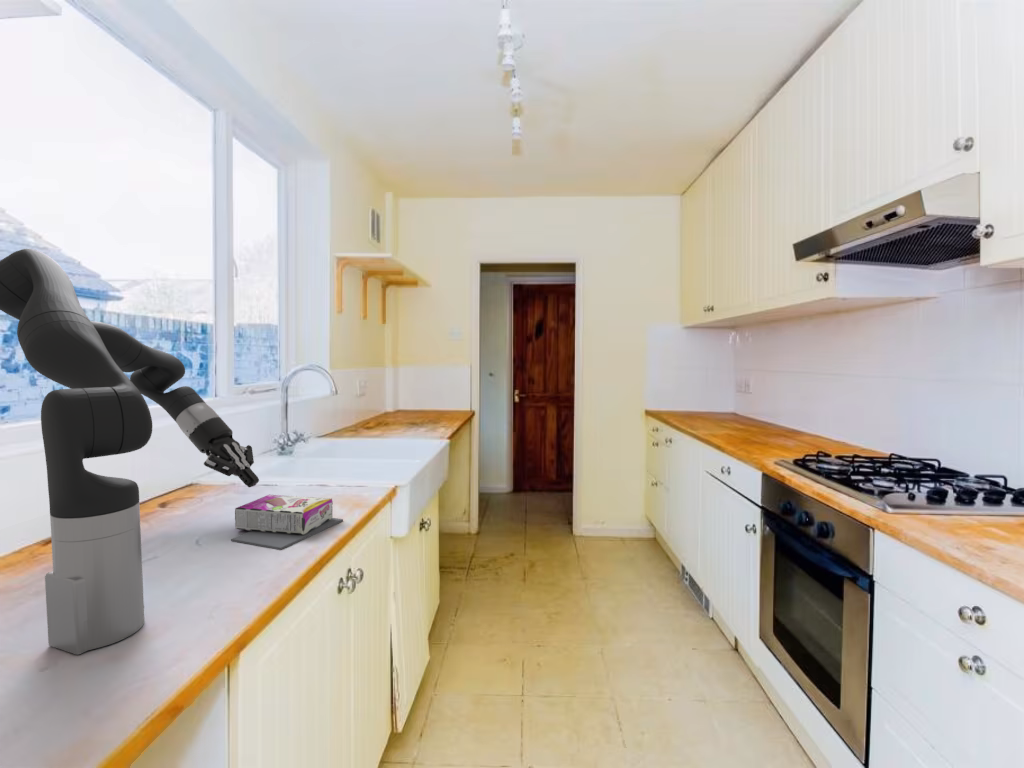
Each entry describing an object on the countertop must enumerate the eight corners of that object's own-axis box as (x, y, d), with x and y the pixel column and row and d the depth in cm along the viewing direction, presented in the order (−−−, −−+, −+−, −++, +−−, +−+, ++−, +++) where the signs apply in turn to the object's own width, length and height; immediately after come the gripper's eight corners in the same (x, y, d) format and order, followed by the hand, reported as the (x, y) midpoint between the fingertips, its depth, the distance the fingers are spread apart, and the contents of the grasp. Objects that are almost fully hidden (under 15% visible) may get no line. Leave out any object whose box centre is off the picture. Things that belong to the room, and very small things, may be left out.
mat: (280, 549, 98) (280, 547, 98) (231, 540, 102) (230, 538, 102) (343, 520, 114) (343, 519, 114) (297, 514, 119) (297, 512, 119)
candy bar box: (268, 492, 118) (333, 497, 114) (269, 514, 118) (333, 519, 115) (233, 506, 107) (303, 512, 103) (233, 530, 107) (304, 536, 104)
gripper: (216, 434, 121) (264, 487, 119) (169, 444, 108) (222, 504, 106) (235, 412, 119) (283, 466, 118) (190, 419, 106) (243, 480, 105)
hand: (254, 484), depth 112 cm, fingers closed
